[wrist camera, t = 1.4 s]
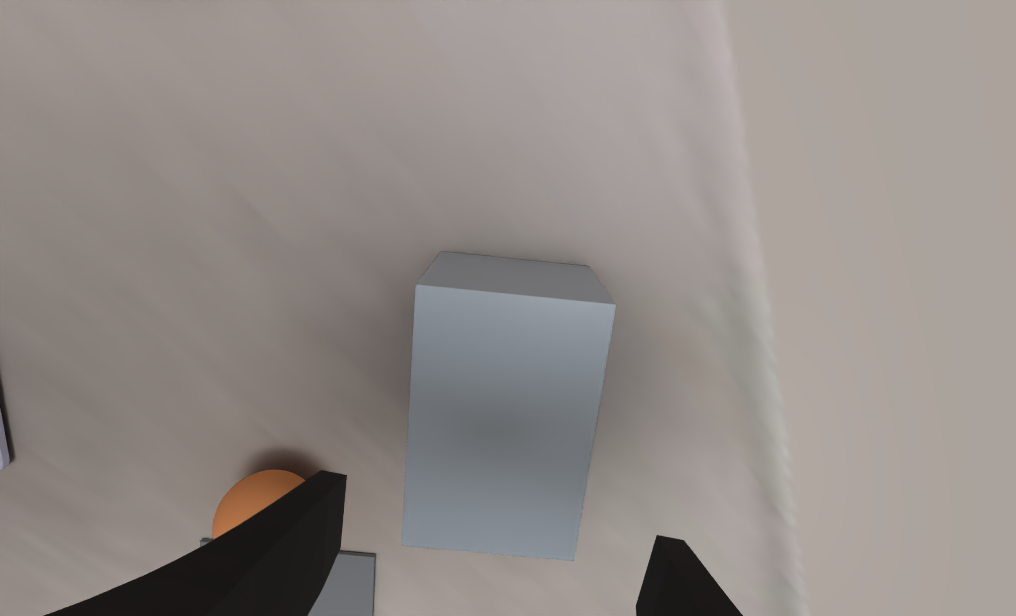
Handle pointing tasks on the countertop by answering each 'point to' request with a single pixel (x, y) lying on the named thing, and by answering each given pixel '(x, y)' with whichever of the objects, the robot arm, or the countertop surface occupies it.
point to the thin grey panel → (345, 586)
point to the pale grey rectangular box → (503, 404)
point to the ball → (252, 497)
